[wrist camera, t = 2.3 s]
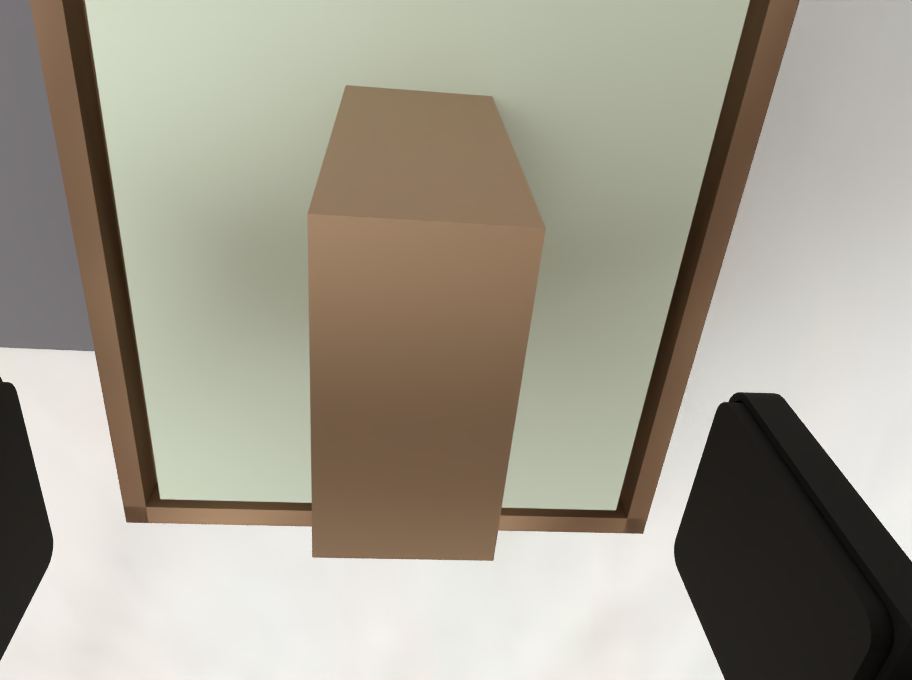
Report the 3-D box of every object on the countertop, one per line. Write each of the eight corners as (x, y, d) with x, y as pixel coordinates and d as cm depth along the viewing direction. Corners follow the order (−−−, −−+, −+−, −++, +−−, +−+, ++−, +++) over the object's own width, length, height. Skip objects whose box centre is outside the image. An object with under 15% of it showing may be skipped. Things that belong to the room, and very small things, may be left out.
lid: (773, -190, 14) (1124, -260, 7) (606, 482, 23) (694, 745, 16) (70, -271, 13) (-314, -449, 6) (171, 470, 22) (60, 749, 15)
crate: (690, -207, 22) (877, -266, 13) (577, 355, 31) (642, 533, 23) (147, -270, 20) (-42, -383, 12) (206, 339, 30) (126, 522, 21)
